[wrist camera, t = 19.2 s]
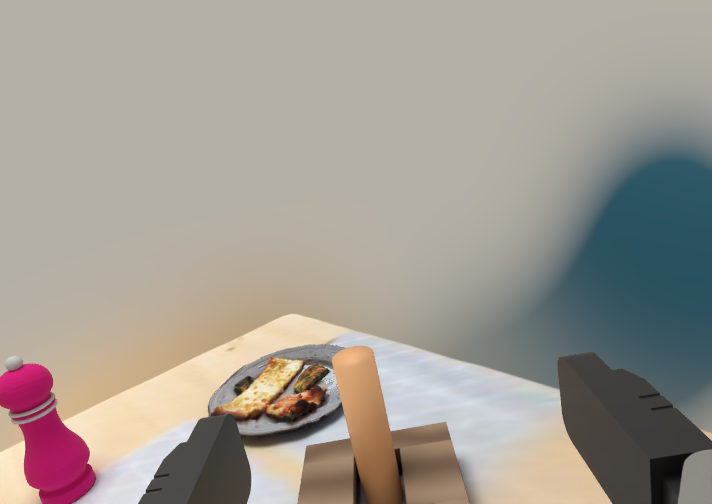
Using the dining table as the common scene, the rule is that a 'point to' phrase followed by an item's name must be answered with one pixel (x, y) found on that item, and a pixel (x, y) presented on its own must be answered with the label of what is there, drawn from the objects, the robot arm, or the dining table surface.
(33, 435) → the pepper mill
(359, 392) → the peg
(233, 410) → the food plate
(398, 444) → the keyhole base
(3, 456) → the dining table surface
